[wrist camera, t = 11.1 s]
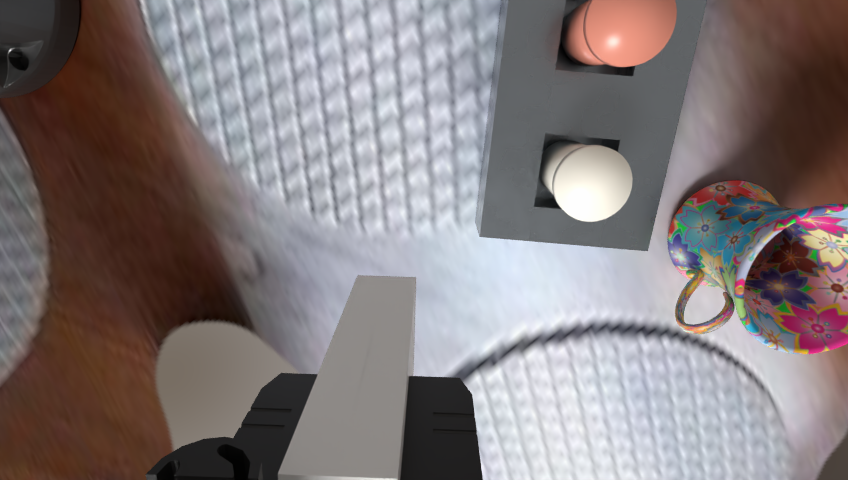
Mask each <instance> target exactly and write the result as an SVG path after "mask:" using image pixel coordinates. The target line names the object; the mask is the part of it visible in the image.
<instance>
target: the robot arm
mask: <svg viewBox="0 0 848 480" xmlns="http://www.w3.org/2000/svg"><path fill="white" fill-rule="evenodd" d="M79 12H80V11H79V0H0V98H8V97H16V96H20V95H24V94H27V93H30V92H32V91H35V90H36V89H38V88H40V87H42V86H43V85H45V84H46V83H48V82H49V81H50V80H51V79H52V78H54V77H55V76H56V75H57V73H58V72H59V71H60V70H61V69H62V67H63V66H64V65H65V63H66V61H67V60H68V58H69V56H70V54H71V52H72V49H73V46H74V44H75V40H76V37H77V32H78V26H79ZM415 300H416V277H391V276H363V275H358V276H357V278H356V281H355V283H354V286H353V288H352V291H351V293H350V296H349V298H348V301H347V303H346V306H345V308H344V311H343V313H342V316H341V318H340V320H339V323H338V325H337V328H336V330H335V333H334V335H333V338H332V340H331V343H330V345H329V348H328V350H327V353H326V355H325V358H324V360H323V363H322V365H321V368H320V370H319V373H318V374H292V373H281V374H279V375H278V376H277V377H276V378H274V379H273V380H272V381H271V382H269V383H268V384H267V385H265V386H264V387H263V388H262V389H261V390H260V392H259V394H258V396H257V397H256V399H255V401H254V403H253V404H252V406H251V410H250V411H249V412H248V413H247V415H246V417H245V419H244V420H243V422H242V426H241V428H239V429H238V431H237V433H236V434H235V436H234V438H228V437H219V438H209V439H203V440H200V441H197V442H194V443H191V444H188V445H185V446H182V447H180V448H179V449H177V450H175V451H173V452H172V453H170V454H168V455H167V456H165V457H163V458H162V459H161V460H160V461H159V462H158V463H157V464H156V465H155V466H154V467H153V468H152V469H151V470H150V471H149V472H148V473H147V474H146V478H147V480H483V479H482V471H481V463H480V455H479V446H478V438H477V434H476V431H477V430H476V422H475V418H474V406H473V398H472V394H471V393H470V391H469V390H468V389H467V387H466V386H465V385H464V383H463V382H462V381H461V379H460V378H449V377H422V376H413V372H414V338H415Z"/></svg>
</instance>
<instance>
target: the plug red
mask: <svg viewBox="0 0 848 480" xmlns="http://www.w3.org/2000/svg"><path fill="white" fill-rule="evenodd" d="M676 17H677V8H676V2H675V0H588V1H586V2H585V3H583V4H581V5H580V6H578V7H577V8H575V9H574V10H573V11H572V12H571V13H570V14H569V16H568V17H567V19H566V20H565V23H564V25H563V28H562V34H561V41H562V46H563V49H564V51H565V53H566V55H567V56H568V57H569V59H571V60H572V61H573V62H575V63H576V64H578V65H581V66H597V65H604V64H607V65H610V66H614V67H628V66H635V65H639V64H642V63H644V62H646V61H648V60H650V59H652V58H653V57H654V56H656V55H657V54H658V53H659V52H660V51H661V50H662V49H663V48H664V47H665V45H666V44H667V42H668V41H669V39H670V37H671V35H672V33H673V30H674V27H675V24H676Z"/></svg>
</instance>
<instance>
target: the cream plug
mask: <svg viewBox="0 0 848 480" xmlns="http://www.w3.org/2000/svg"><path fill="white" fill-rule="evenodd" d="M539 179H540V181H541V183H542V184H543V185H544V187H545V188H547V189H548V190H549V191H550V192H551V193H552V194H553V195H554V198H555V200H556V202H557V203H558V205H559V206H560V207H561V208H562V209H563V210H564V211H565V212H566V213H567V214H568V215H569V216H571V217H573V218H575V219H577V220H581V221H586V222H594V221H600V220H603V219H606V218H608V217H610V216H612V215H613V214H615V213H616V212H617V211H619V210H620V209H621V207H622V206H623V205H624V204H625V203H626V201H627V199H628V197H629V195H630V192H631V189H632V180H633V178H632V172H631V168H630V166H629V164H628V162H627V161H626V159H625V158H624V157H623V156H622V155H621V154H620V153H618V152H617V151H615V150H613V149H611V148H608V147H604V146H600V145H584V144H582V143H579V142H576V141H573V140H562V141H558V142H555V143H554V144H552V145H550V146H549V147H548V148H547V149H546V150H545V151H544V152H543V154H542V158H541V164H540V171H539Z"/></svg>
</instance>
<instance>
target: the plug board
mask: <svg viewBox="0 0 848 480" xmlns="http://www.w3.org/2000/svg"><path fill="white" fill-rule="evenodd" d="M586 1H588V0H501V8H500V16H499V25H498V33H497V42H496V50H495V59H494V67H493V76H492V84H491V93H490V101H489V110H488V118H487V127H486V135H485V144H484V152H483V161H482V169H481V177H480V186H479V194H478V203H477V211H476V220H475V223H476V226H477V230H478V233H479V237H488V238H500V239H512V240H523V241H535V242H547V243H558V244H570V245H582V246H594V247H605V248H617V249H629V250H641V251H648V248H649V243H650V239H651V235H652V231H653V226H654V222H655V218H656V214H657V210H658V205H659V201H660V197H661V193H662V188H663V184H664V180H665V176H666V171H667V167H668V163H669V159H670V154H671V150H672V146H673V142H674V137H675V133H676V129H677V125H678V121H679V116H680V112H681V108H682V104H683V99H684V95H685V91H686V87H687V82H688V78H689V74H690V70H691V65H692V61H693V57H694V53H695V49H696V44H697V40H698V36H699V32H700V27H701V23H702V19H703V15H704V10H705V6H706V2H707V0H675V2H676V8H677V17H676V24H675V27H674V30H673V33H672V35H671V37H670V39H669V41H668V42H667V44H666V45H665V47H664V48H663V49H662V50H661V51H660V52H659V53H658V54H657V55H656V56H654V57H653V58H652V59H650V60H648V61H646V62H644V63H642V64H639V65H635V66H628V67H614V66H610V65H607V64H604V65H597V66H581V65H578V64H576V63H575V62H573V61H572V60H571V59H569V57H568V56H567V55H566V53H565V51H564V49H563V46H562V41H561V34H562V28H563V25H564V23H565V20H566V19H567V17H568V16H569V14H570V13H571V12H572V11H573V10H574V9H575V8H577V7H578V6H580V5H581V4H583V3H585V2H586ZM562 140H573V141H576V142H579V143H582V144H584V145H600V146H604V147H608V148H611V149H613V150H615V151H617V152H618V153H620V154H621V155H622V156H623V157H624V158H625V159H626V161H627V162H628V164H629V166H630V168H631V172H632V178H633V180H632V189H631V192H630V195H629V197H628V199H627V201H626V203H625V204H624V205H623V206H622V207H621V209H620V210H619V211H617V212H616V213H615V214H613V215H612V216H610V217H608V218H606V219H603V220H600V221H594V222H586V221H581V220H577V219H575V218H573V217H571V216H569V215H568V214H567V213H566V212H565V211H564V210H563V209H562V208H561V207H560V206H559V205H558V203H557V202H556V200H555V198H554V195H553V194H552V193H551V192H550V191H549V190H548V189H547V188H545V187H544V185H543V184H542V183H541V181H540V179H539V171H540V164H541V158H542V154H543V152H544V151H545V150H546V149H547V148H548V147H549V146H550V145H552V144H554V143H555V142H558V141H562Z"/></svg>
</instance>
